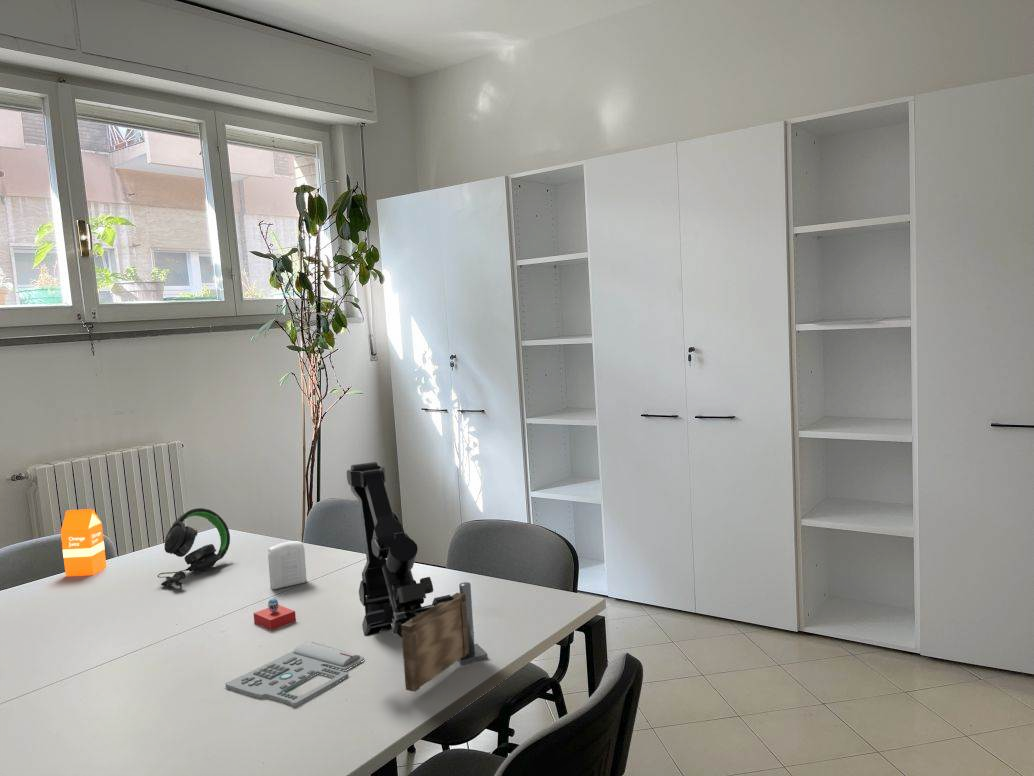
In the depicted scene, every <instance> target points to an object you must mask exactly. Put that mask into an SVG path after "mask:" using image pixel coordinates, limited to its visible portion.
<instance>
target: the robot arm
mask: <svg viewBox="0 0 1034 776" xmlns="http://www.w3.org/2000/svg"><path fill="white" fill-rule="evenodd" d="M385 468H386V467H385V466H384V465H383V466H382V465H378V462H377V461H374V462H373V461H372V462H365V463H363V462H362V463H357V464H351V465H350V469H347V470H346V482H347V484H348V485H349V486H350V491H351V493H352V494H353V496H354V497H356V499H357V500H358V502H359V509H360V518H361V523H362V524H361V525H362V532H363V543H364V548H365V556H366V562H365V565H364V568H363V569H362V572H361V580H360V584H359V588H358V597H359V601H360V604H362V606H363V607H364V611H365V612H364V613H365V615H364V618H363V621H362V624H361V625H362V632H363V636H364V637H370V636H375V635H379V634H380V633H381V631H383V630H385V631H386V630H391V629H392V630H391V633H392V635H398V636H399V637H400V638H401V639H402V632H401V625H402V624H404V623H405V622H407V621H409V620H411V619H412V618H414V617H416V616H417V615H419V614H421V613H423V612H424V611H426V610H428V609H430V608H431V607H433V606H435V605H437V604H438V603H441V602H446V601H450V600H453V599H454V598H453V597H452V595H450V594H447V595H441V596H437V597H434V598H433V600H432V603H431V604H429V605H423V604H424V602H425V599H427V594H431V593H433V592H434V586H433V582H432V581H433V580H432V579H431V576H426V577H422V578H420V579H419V582H417V581H416V579H414V575H413V573H412V569H413V568H414V564H415V561H416V557H417V553H418V550H419V549H418V548H419V547H418V544H417V543H416V541H414V540H413V539H412V538H410V536H409V535H408V533H406V532H405V530H404V527H403V524H402V523H401V522H399V520H397V519H396V518H395V516H394V513H393V509H392V506H391V503H390V500H389V496H388V492H387V489H386V485H385V483H386V482H387V480H386V469H385ZM422 605H423V606H422Z"/></svg>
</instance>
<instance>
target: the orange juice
mask: <svg viewBox="0 0 1034 776" xmlns="http://www.w3.org/2000/svg"><path fill="white" fill-rule="evenodd" d="M102 523H103V522H102V521H101V519H100V518H99V516H98V514H96V511H95V510H94V509H93V508H88V509H87V508H85V509H70V510H69V509H67V510H66V511H65V515H64V518H63V523H62V525H61V529H60V536H61V537H60V538H61V539H60V540H61V548H62V556H63V564H64V573H65V577H79V576H80V577H81V576H83V577H84V576H94V575H96V574H97V573H100V572H101V571H102V570H104V569H106V568H107V560H106V559H107V558H106V551H105V541H104V533H103V524H102Z"/></svg>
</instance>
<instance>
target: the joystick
mask: <svg viewBox="0 0 1034 776" xmlns="http://www.w3.org/2000/svg"><path fill="white" fill-rule="evenodd" d="M252 615H253V623H254V624H256V625H258V626H261V627H262V628H265V629H267V630H270V631H273V630H276V629H279V628H281V627H284V626H286V625H289V624H292V623H295V622H297V619H296V617H297V616H296V610H294V609H290V608H287V607H285V606H282V605H281V604H279V601H278V599H277V598H275V597H272V598H270V599H269V600H268V602H267V608H264V609H261V610H259V611H258V610H257V611H256V612H255V611H254V612H253V613H252ZM294 621H295V622H294Z"/></svg>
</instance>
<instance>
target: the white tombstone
mask: <svg viewBox="0 0 1034 776" xmlns="http://www.w3.org/2000/svg"><path fill="white" fill-rule="evenodd" d="M267 552H268V553H267V560H268V561H267V562H268V573H269V583H270V584H269V585H270V589H271V590H278V589H281V588H286V587H291V586H294V585H295V586H296V585H299V584H300V585H301V584H303V583H306V582H307V578H308V577H307V568H306V567H307V565H306V554H305V553H306V552H305V547H304V543H303V542H302V541H297V540H296V541H295V540H294V541H293V540H291V541H289V540H288V541H284V542H280V543H277V544H276V545H275V544H274V545H272V546H271V547H270V548H268V551H267Z"/></svg>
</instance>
